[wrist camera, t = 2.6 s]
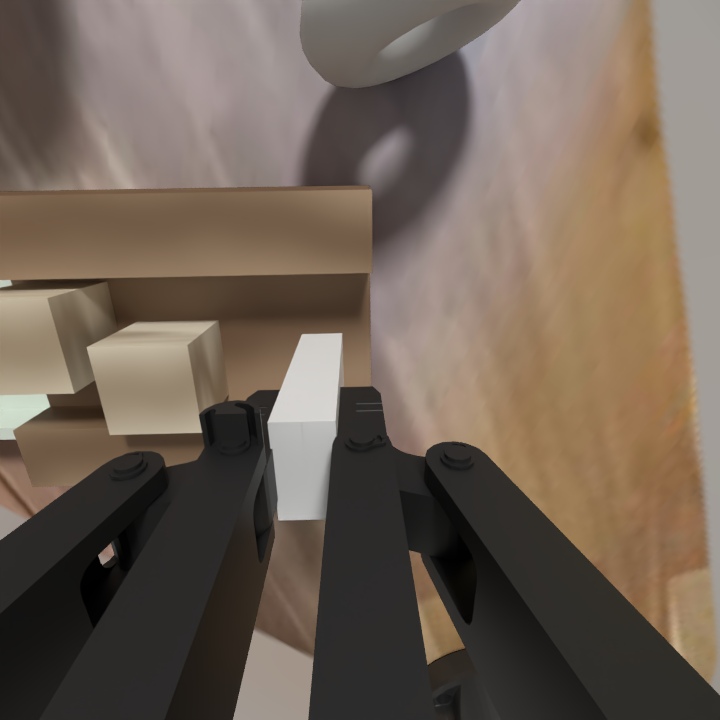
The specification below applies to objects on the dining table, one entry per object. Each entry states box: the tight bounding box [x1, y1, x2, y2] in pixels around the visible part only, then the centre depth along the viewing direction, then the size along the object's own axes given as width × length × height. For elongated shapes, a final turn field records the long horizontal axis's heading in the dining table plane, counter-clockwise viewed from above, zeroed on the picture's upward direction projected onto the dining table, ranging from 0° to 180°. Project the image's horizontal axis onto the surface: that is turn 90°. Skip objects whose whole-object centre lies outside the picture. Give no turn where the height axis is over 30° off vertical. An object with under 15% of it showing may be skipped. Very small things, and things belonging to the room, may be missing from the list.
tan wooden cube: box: [0, 281, 118, 395], centre depth 18 cm, size 4×4×4 cm
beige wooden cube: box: [87, 320, 229, 435], centre depth 19 cm, size 4×4×4 cm
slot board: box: [0, 185, 372, 487], centre depth 22 cm, size 14×17×8 cm
